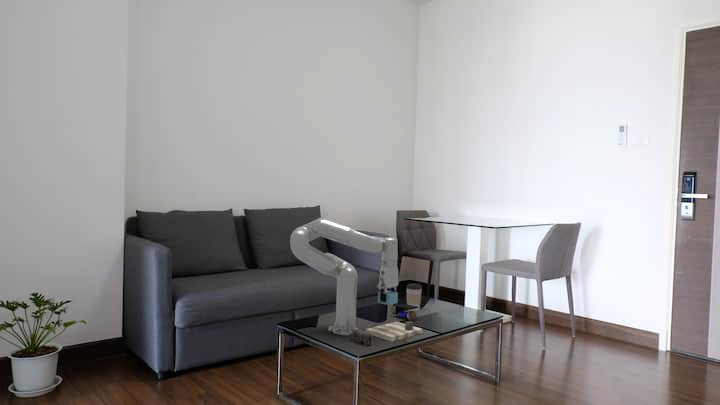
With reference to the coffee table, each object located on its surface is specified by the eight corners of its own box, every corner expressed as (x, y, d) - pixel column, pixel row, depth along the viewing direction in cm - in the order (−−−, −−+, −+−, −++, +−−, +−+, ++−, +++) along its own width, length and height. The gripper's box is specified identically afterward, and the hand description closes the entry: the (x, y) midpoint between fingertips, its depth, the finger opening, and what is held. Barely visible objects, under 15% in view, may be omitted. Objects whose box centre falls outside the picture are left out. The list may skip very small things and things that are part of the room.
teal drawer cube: (389, 305, 241) (389, 294, 241) (377, 302, 245) (378, 291, 245) (397, 302, 246) (397, 292, 246) (386, 300, 251) (386, 290, 250)
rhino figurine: (353, 338, 236) (353, 325, 236) (374, 345, 226) (374, 331, 226) (346, 339, 233) (346, 326, 233) (367, 347, 223) (367, 333, 223)
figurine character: (390, 318, 278) (411, 321, 267) (389, 304, 279) (410, 306, 268) (399, 317, 283) (419, 319, 272) (398, 303, 283) (419, 305, 272)
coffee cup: (403, 308, 298) (404, 282, 298) (417, 307, 301) (418, 282, 300) (409, 311, 289) (410, 285, 289) (423, 311, 292) (424, 285, 292)
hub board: (392, 341, 232) (392, 329, 232) (365, 333, 244) (365, 321, 244) (422, 333, 247) (422, 321, 247) (396, 325, 259) (396, 314, 259)
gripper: (384, 266, 236) (383, 304, 237) (405, 262, 250) (404, 299, 250) (371, 264, 241) (370, 301, 241) (393, 260, 254) (391, 296, 255)
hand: (387, 300), depth 246 cm, fingers closed on teal drawer cube, 6 cm apart
